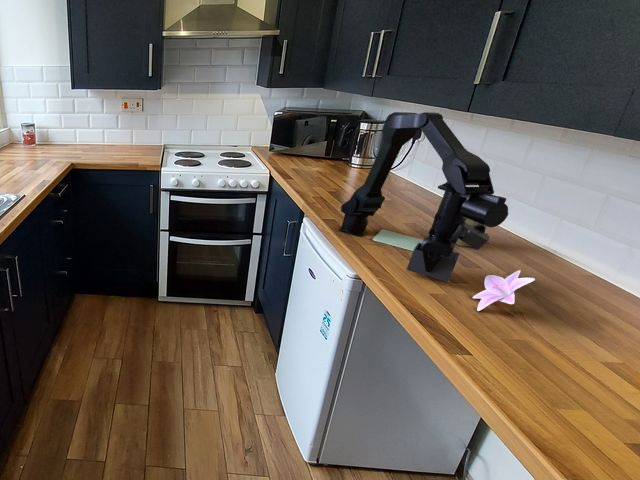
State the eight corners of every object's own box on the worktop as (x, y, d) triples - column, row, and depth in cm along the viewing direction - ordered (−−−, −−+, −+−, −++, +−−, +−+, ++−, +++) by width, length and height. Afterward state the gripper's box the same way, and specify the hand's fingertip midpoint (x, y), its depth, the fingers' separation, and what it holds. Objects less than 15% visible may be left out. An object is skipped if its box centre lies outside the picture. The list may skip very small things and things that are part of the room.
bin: (406, 269, 106) (413, 249, 103) (411, 262, 110) (418, 242, 108) (447, 282, 100) (456, 261, 98) (451, 273, 105) (459, 253, 102)
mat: (372, 240, 128) (372, 238, 128) (381, 230, 136) (382, 229, 136) (432, 256, 118) (432, 255, 118) (438, 244, 126) (438, 243, 126)
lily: (482, 294, 101) (473, 262, 98) (548, 298, 91) (541, 263, 88) (467, 324, 95) (458, 291, 92) (537, 332, 85) (528, 295, 83)
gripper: (492, 231, 87) (464, 292, 94) (496, 211, 100) (472, 266, 106) (431, 217, 94) (409, 275, 100) (442, 200, 107) (422, 253, 113)
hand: (430, 267), depth 105 cm, fingers closed on bin, 6 cm apart
